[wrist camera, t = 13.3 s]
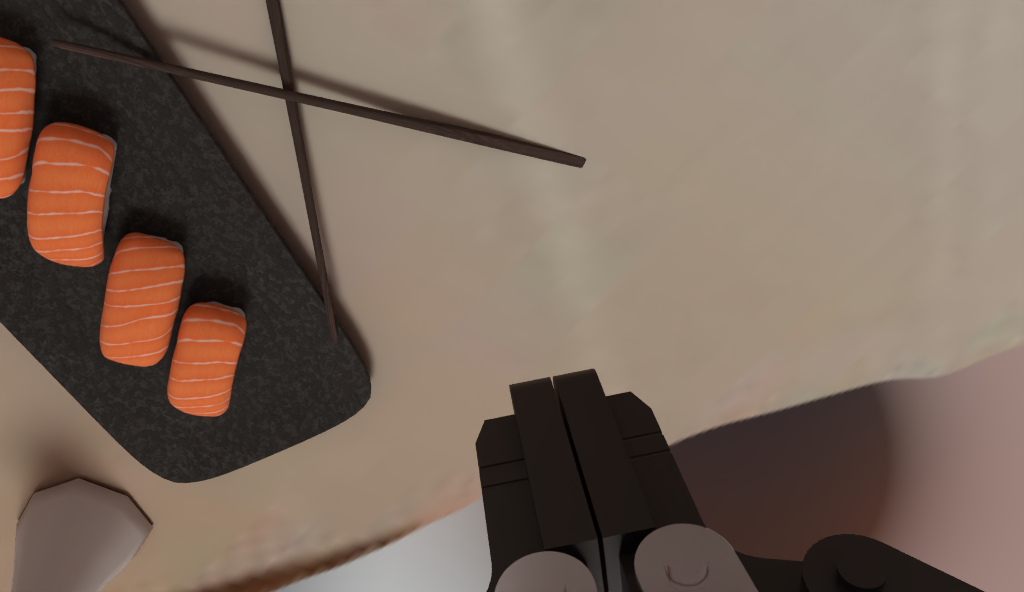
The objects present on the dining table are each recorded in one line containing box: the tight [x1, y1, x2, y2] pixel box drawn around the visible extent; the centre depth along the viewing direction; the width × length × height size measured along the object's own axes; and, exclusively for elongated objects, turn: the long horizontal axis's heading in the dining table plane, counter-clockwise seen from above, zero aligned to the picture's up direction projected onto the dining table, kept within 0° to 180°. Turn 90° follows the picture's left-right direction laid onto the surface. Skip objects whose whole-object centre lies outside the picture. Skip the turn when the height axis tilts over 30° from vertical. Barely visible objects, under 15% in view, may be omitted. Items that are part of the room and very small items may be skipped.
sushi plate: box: [0, 0, 586, 483], centre depth 35 cm, size 29×30×4 cm
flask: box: [11, 478, 153, 592], centre depth 42 cm, size 7×7×10 cm
